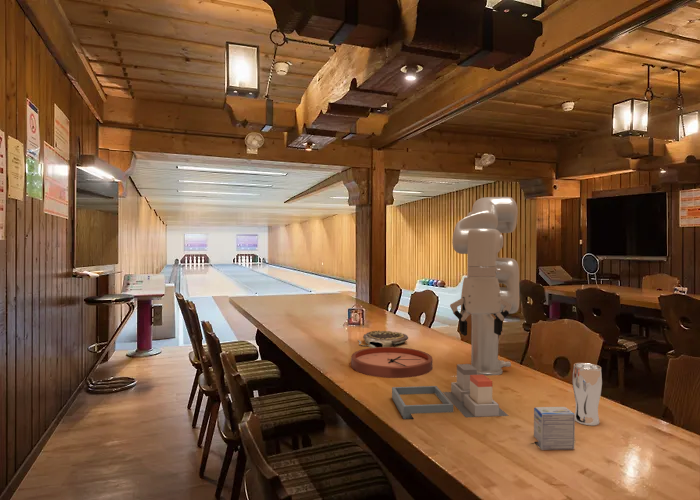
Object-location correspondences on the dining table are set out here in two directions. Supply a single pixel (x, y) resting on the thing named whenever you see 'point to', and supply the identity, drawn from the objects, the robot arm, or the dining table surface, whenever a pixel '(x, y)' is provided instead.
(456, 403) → the board
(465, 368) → the block
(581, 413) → the beer glass
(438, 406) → the grey open square frame
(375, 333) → the pie
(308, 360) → the dining table surface
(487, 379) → the block
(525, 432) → the dining table surface
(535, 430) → the medicine box
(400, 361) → the clock
